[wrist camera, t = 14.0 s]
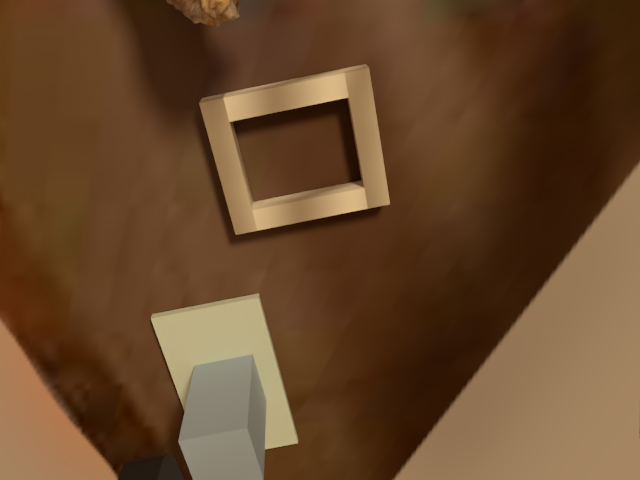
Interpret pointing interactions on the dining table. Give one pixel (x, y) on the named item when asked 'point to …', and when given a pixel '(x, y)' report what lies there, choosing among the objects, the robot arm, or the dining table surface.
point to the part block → (225, 421)
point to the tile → (227, 353)
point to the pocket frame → (285, 97)
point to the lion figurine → (207, 10)
